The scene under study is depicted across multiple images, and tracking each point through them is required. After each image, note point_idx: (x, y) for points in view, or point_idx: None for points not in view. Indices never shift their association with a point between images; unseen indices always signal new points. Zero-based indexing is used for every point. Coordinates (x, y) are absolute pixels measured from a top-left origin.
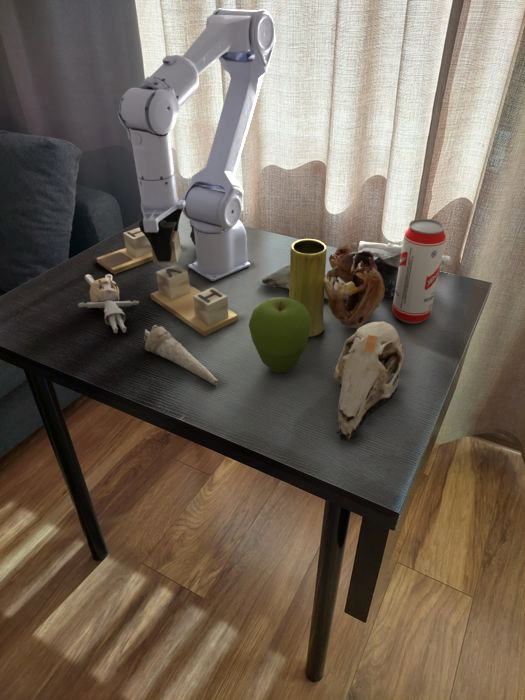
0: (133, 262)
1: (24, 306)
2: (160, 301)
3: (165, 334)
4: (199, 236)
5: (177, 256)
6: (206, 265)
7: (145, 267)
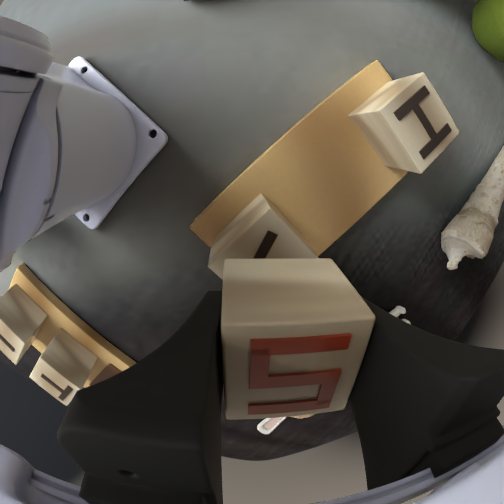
0: (119, 360)
1: (283, 446)
2: None
3: (488, 226)
4: (62, 204)
5: (314, 266)
6: (123, 164)
7: (117, 331)
